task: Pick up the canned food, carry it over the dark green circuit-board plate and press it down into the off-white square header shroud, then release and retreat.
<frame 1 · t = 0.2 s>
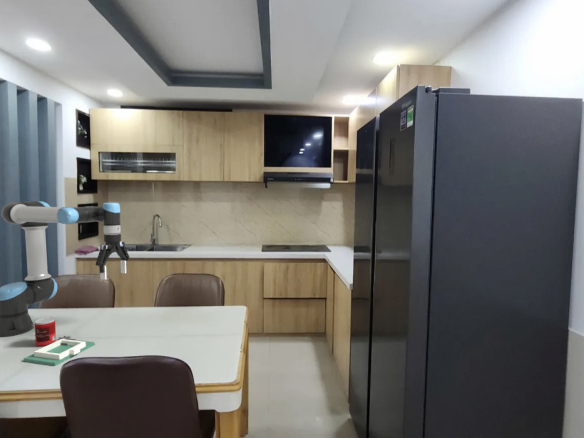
hand: (113, 276, 172), 28 cm above the table, fingers open, 13 cm apart
canned food: (46, 343, 159), on the table
board: (60, 353, 148), on the table
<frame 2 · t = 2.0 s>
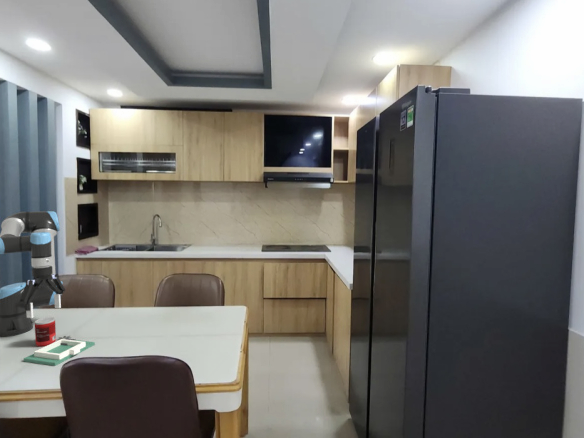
hand: (44, 312, 157), 15 cm above the table, fingers open, 13 cm apart
nothing on the table moved.
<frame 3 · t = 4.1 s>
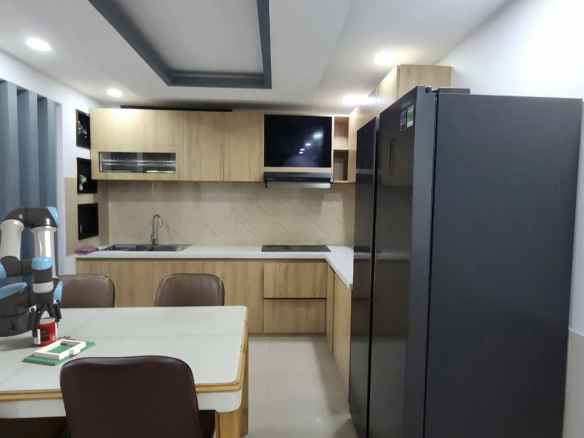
hand: (45, 339, 158), 2 cm above the table, fingers closed on canned food, 8 cm apart
canned food: (46, 343, 158), on the table, touching gripper
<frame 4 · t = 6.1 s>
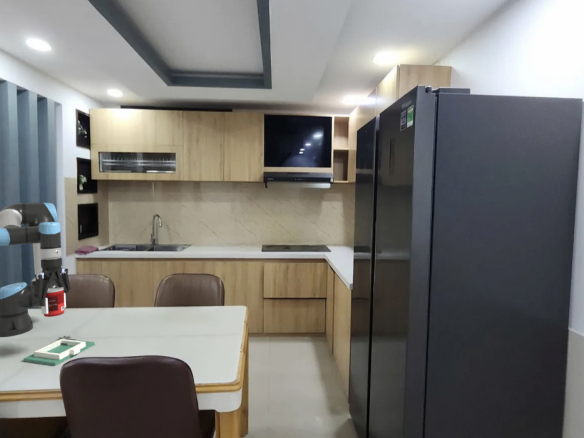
hand: (54, 310, 149), 18 cm above the table, fingers closed on canned food, 8 cm apart
canned food: (54, 314, 149), point 16 cm above the table, touching gripper
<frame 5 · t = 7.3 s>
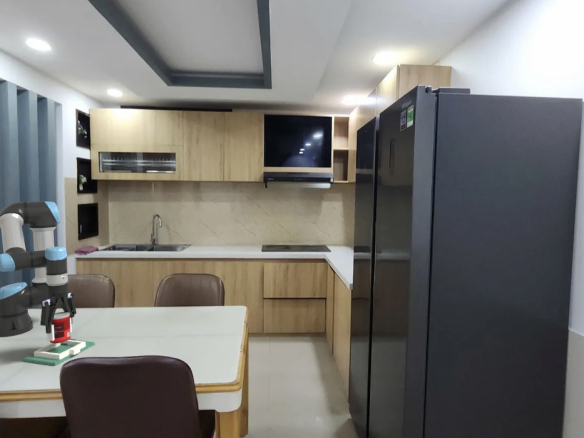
hand: (60, 336, 147), 8 cm above the table, fingers closed on canned food, 8 cm apart
canned food: (60, 340, 147), point 6 cm above the table, touching gripper
when the fingers open (5 cm above the table, at t = 8.3 s): canned food drops 2 cm, resting on board.
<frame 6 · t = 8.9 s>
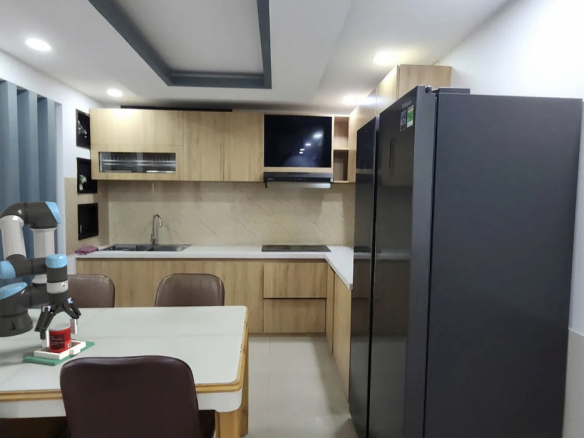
hand: (60, 339, 148), 6 cm above the table, fingers open, 13 cm apart
canned food: (60, 351, 148), point 1 cm above the table, touching board
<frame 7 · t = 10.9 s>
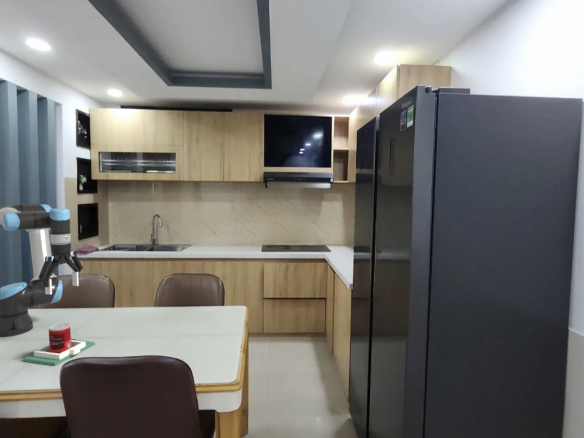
hand: (62, 289, 156), 25 cm above the table, fingers open, 13 cm apart
nothing on the table moved.
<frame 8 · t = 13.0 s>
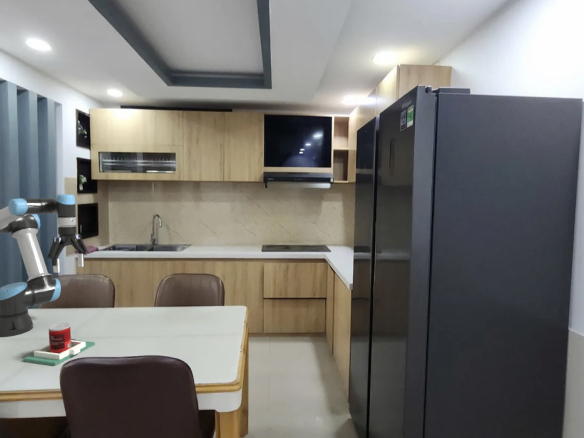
hand: (69, 269, 169), 32 cm above the table, fingers open, 13 cm apart
nothing on the table moved.
at the end: canned food 0.0 cm off-centre on the board, point 1.0 cm above the board's base; canned food tilted 0°; the gripper is holding nothing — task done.
